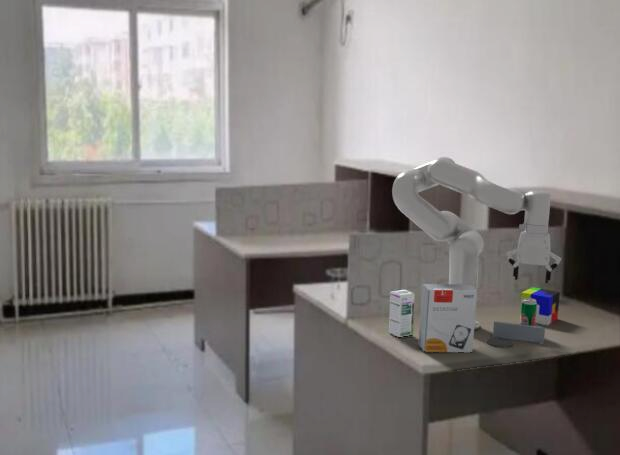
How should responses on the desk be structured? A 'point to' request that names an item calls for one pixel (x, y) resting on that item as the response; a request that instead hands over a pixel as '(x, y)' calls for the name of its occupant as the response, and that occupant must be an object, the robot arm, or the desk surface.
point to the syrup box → (401, 312)
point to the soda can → (528, 312)
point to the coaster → (499, 342)
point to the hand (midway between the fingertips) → (531, 280)
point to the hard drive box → (447, 317)
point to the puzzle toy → (544, 304)
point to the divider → (519, 332)
